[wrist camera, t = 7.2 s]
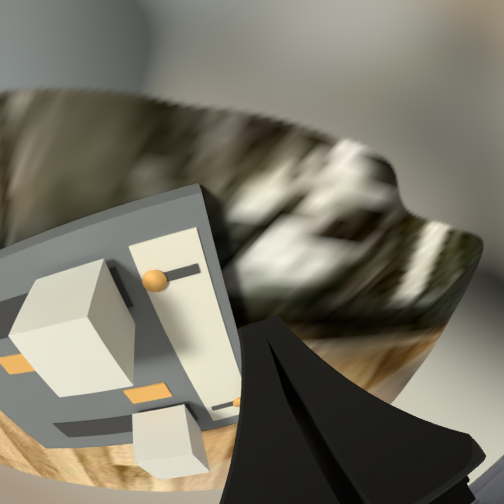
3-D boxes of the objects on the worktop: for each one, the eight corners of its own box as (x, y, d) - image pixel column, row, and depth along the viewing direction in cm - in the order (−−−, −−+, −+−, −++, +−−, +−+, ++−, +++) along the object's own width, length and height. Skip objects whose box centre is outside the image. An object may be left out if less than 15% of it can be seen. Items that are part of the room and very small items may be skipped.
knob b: (135, 323, 14) (133, 385, 11) (71, 338, 14) (59, 397, 10) (103, 258, 12) (87, 316, 9) (35, 279, 12) (8, 335, 8)
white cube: (200, 428, 21) (209, 471, 17) (154, 437, 20) (159, 479, 17) (184, 404, 19) (192, 454, 15) (132, 414, 18) (134, 462, 15)
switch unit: (257, 401, 24) (262, 418, 22) (47, 436, 21) (46, 450, 19) (198, 183, 14) (202, 194, 12) (-78, 287, 11) (-89, 302, 9)
